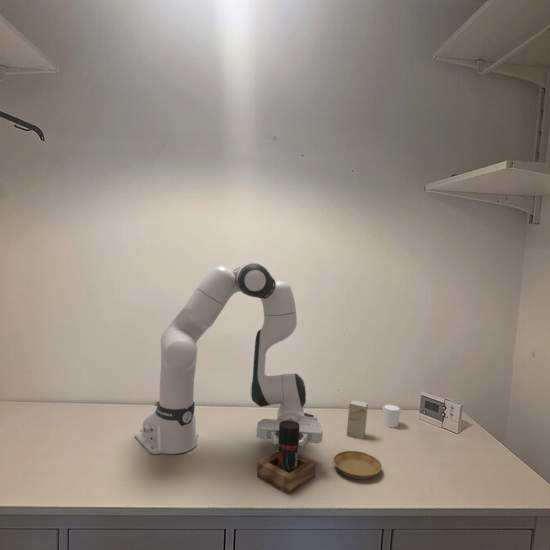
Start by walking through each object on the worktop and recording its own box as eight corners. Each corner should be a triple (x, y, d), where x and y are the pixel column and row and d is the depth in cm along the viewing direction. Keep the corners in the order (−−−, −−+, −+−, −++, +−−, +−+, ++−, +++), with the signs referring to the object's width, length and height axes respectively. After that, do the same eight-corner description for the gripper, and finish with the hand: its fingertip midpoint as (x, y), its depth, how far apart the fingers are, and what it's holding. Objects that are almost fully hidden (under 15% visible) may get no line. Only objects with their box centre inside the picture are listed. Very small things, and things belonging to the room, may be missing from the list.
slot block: (256, 476, 127) (257, 462, 126) (283, 461, 136) (283, 447, 136) (289, 494, 119) (290, 479, 119) (315, 477, 128) (316, 462, 128)
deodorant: (295, 480, 124) (298, 429, 123) (275, 477, 125) (277, 427, 124) (298, 470, 129) (300, 421, 128) (279, 467, 131) (281, 419, 130)
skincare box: (346, 435, 157) (348, 403, 156) (349, 430, 161) (351, 399, 160) (363, 439, 154) (365, 406, 153) (365, 434, 159) (368, 402, 158)
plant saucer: (324, 471, 132) (324, 463, 132) (345, 453, 144) (346, 445, 144) (369, 489, 124) (370, 481, 124) (387, 468, 136) (388, 460, 136)
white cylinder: (401, 424, 169) (402, 406, 169) (396, 430, 164) (397, 412, 163) (384, 419, 173) (385, 402, 172) (378, 425, 167) (380, 407, 167)
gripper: (258, 411, 140) (253, 429, 126) (321, 416, 139) (323, 435, 125) (257, 430, 140) (252, 450, 127) (320, 434, 139) (322, 456, 125)
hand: (288, 443), depth 126 cm, fingers closed on deodorant, 6 cm apart
